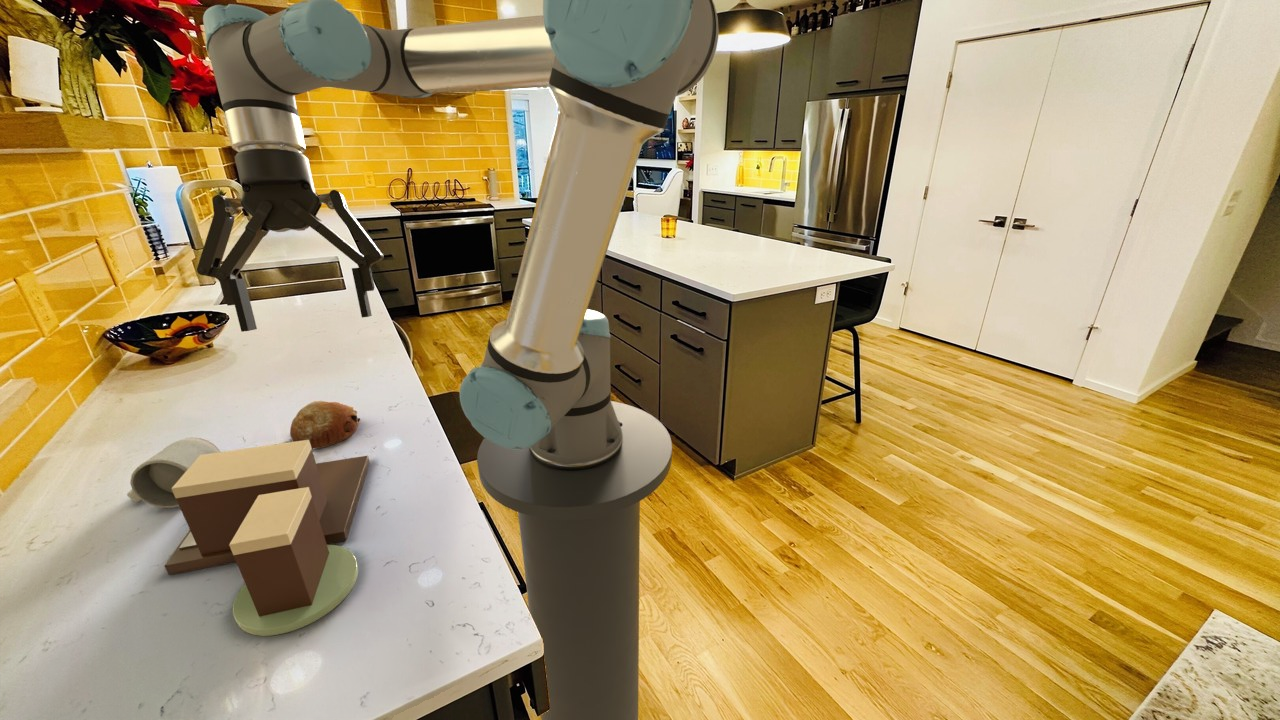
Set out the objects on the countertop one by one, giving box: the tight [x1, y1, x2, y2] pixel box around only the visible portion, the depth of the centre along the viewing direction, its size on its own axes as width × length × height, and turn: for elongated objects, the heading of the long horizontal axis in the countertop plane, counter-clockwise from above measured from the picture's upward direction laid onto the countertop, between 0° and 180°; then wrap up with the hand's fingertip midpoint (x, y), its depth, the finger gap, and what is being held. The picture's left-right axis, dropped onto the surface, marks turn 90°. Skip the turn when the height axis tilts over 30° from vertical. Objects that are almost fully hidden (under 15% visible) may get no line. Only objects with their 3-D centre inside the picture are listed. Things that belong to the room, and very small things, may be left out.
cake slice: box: [229, 487, 329, 617], centre depth 55 cm, size 5×8×10 cm, turn 18°
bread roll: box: [289, 400, 361, 449], centre depth 88 cm, size 10×10×8 cm
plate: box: [232, 544, 359, 637], centre depth 57 cm, size 12×12×1 cm
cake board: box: [164, 455, 371, 576], centre depth 70 cm, size 19×18×2 cm
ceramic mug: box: [126, 437, 221, 509], centre depth 72 cm, size 11×8×8 cm
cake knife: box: [179, 532, 197, 549], centre depth 68 cm, size 14×2×1 cm, turn 18°
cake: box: [171, 440, 327, 556], centre depth 63 cm, size 12×7×10 cm, turn 108°
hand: (310, 323), depth 66 cm, fingers open, 13 cm apart
